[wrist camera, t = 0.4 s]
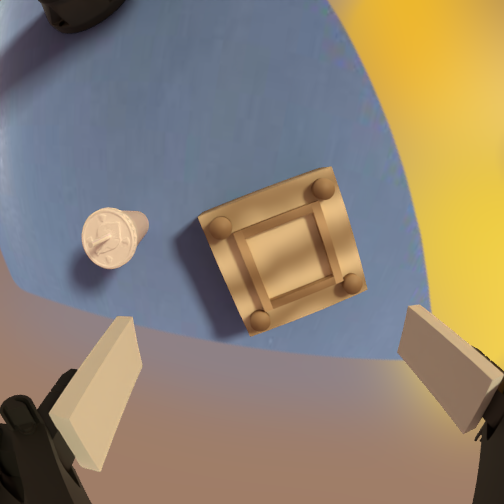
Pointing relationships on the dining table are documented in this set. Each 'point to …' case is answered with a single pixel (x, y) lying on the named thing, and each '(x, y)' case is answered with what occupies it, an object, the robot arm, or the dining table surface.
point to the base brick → (285, 250)
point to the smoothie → (113, 236)
